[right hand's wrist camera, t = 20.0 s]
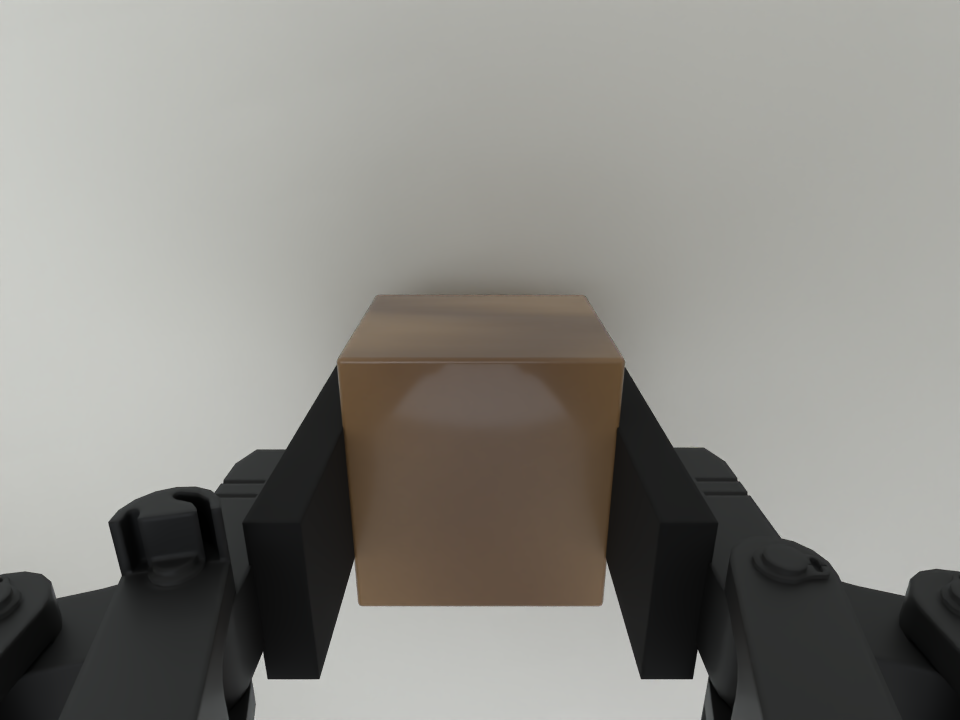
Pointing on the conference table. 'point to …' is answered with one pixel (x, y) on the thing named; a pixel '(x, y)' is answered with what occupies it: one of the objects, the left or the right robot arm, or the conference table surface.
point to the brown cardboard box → (480, 449)
